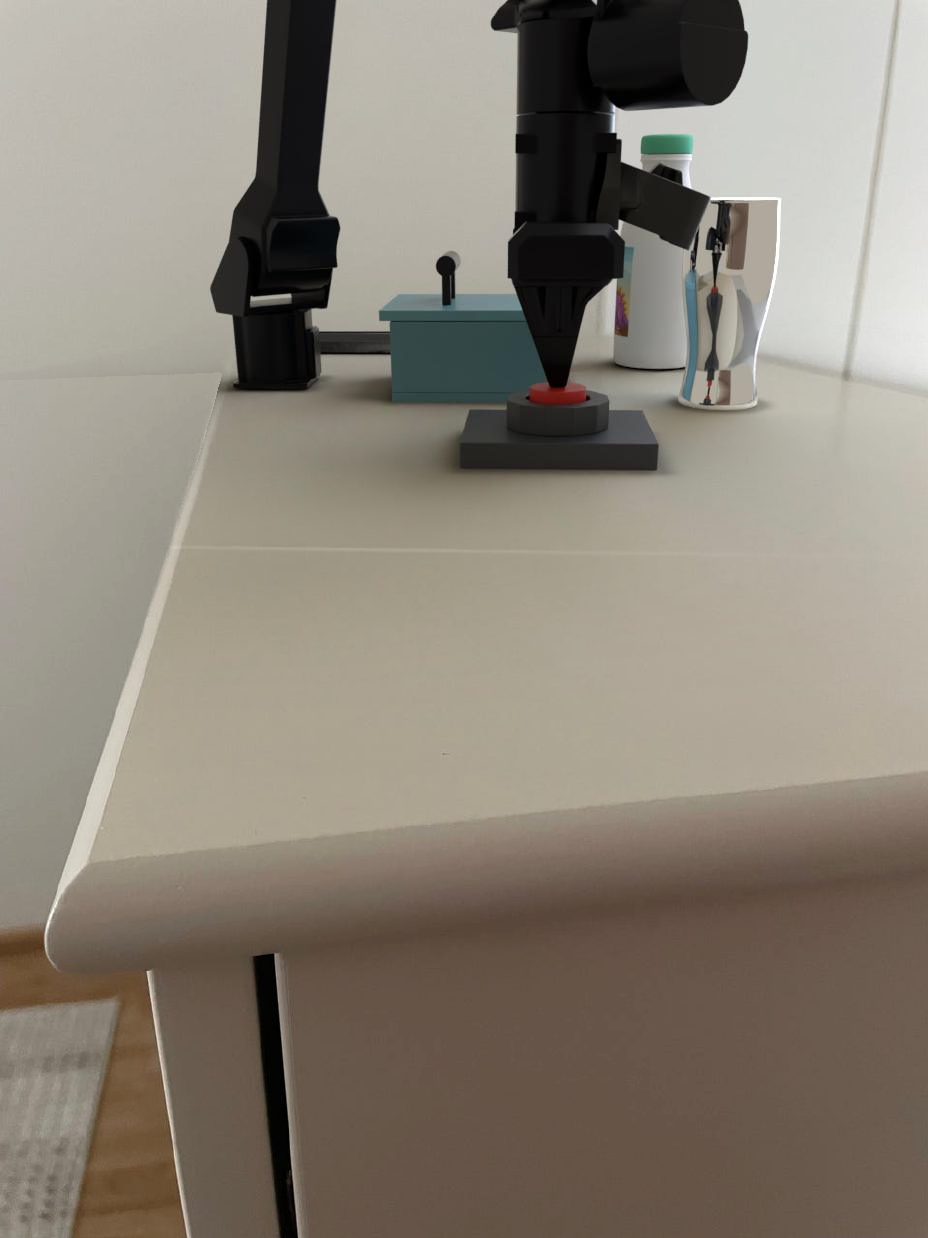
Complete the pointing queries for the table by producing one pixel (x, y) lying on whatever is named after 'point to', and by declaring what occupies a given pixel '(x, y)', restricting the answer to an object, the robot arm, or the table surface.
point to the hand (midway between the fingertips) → (557, 386)
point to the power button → (558, 393)
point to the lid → (452, 302)
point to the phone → (354, 341)
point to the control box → (558, 436)
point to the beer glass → (728, 300)
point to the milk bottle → (653, 277)
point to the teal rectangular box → (462, 360)
